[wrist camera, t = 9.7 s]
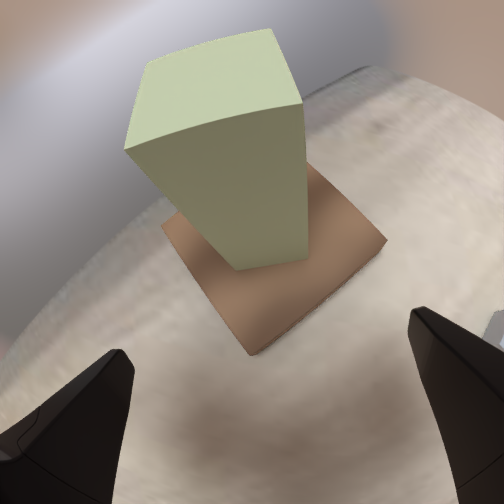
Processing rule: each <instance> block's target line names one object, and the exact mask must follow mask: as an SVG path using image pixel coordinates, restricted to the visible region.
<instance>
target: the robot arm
mask: <svg viewBox="0 0 504 504" xmlns="http://www.w3.org/2000/svg"><path fill="white" fill-rule="evenodd" d="M408 338H409V341H410V344H411V347H412V351H413V354H414V357H415V361H416V364H417V368H418V371H419V375H420V378H421V381H422V384H423V386H424V389H425V391H426V394H427V397H428V399H429V402H430V405H431V407H432V410H433V413H434V416H435V419H436V421H437V424H438V427H439V430H440V433H441V437H442V440H443V443H444V446H445V449H446V453H447V456H448V460H449V463H450V467H451V471H452V475H453V479H454V483H455V487H456V492H457V497H458V502H459V504H504V352H503V351H501V350H500V349H498V348H496V347H495V346H493V345H491V344H490V343H488V342H486V341H485V340H483V339H481V338H480V337H478V336H476V335H474V334H473V333H471V332H469V331H468V330H466V329H464V328H462V327H461V326H459V325H457V324H455V323H454V322H452V321H450V320H448V319H447V318H445V317H443V316H441V315H439V314H438V313H436V312H434V311H432V310H430V309H429V308H427V307H425V306H422V307H418V308H414V309H412V310H411V313H410V319H409V325H408ZM134 374H135V369H134V366H133V364H132V362H131V361H130V359H129V358H128V356H127V355H126V353H125V352H124V351H123V350H122V349H112V350H110V351H108V352H107V353H106V354H105V355H103V356H102V357H101V358H99V359H98V360H97V361H96V362H94V363H93V364H92V365H91V366H89V367H88V368H87V369H85V370H84V371H83V372H82V373H80V374H79V375H78V376H77V377H75V378H74V379H73V380H72V381H70V382H69V383H68V384H66V385H65V386H64V387H63V388H61V389H60V390H59V391H58V392H56V393H55V394H54V395H53V396H51V397H50V398H49V399H48V400H46V401H45V402H44V403H43V404H41V406H39V407H37V408H36V409H35V410H34V411H32V412H31V413H30V414H29V415H27V416H26V417H25V418H23V419H22V420H20V421H19V422H18V423H16V424H15V425H13V426H12V427H10V428H9V429H7V430H6V431H4V432H3V433H1V434H0V504H112V498H113V491H114V484H115V478H116V472H117V467H118V461H119V456H120V451H121V446H122V441H123V436H124V431H125V427H126V422H127V418H128V413H129V408H130V401H131V394H132V387H133V380H134Z"/></svg>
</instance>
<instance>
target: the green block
mask: <svg viewBox="0 0 504 504" xmlns="http://www.w3.org/2000/svg"><path fill="white" fill-rule="evenodd" d="M124 151H125V152H126V153H127V154H128V155H129V156H130V157H131V158H132V160H133V161H134V162H135V163H136V164H137V165H138V166H139V167H140V169H141V170H142V171H143V172H144V173H145V174H146V175H147V176H148V177H149V178H150V180H151V181H152V182H153V183H154V184H155V185H156V186H157V187H158V188H159V190H161V192H162V193H163V194H164V195H165V196H166V197H167V198H168V199H169V200H170V202H171V203H172V204H173V205H174V206H175V207H176V208H177V209H178V210H179V211H180V212H181V213H182V215H183V216H184V217H185V218H186V219H187V220H188V221H189V222H190V223H191V224H192V225H193V226H194V227H195V228H196V229H197V231H198V232H199V233H200V234H201V235H202V236H203V237H204V238H205V239H206V240H207V241H208V242H209V243H210V244H211V245H212V246H213V248H214V249H215V250H216V251H217V252H218V253H219V254H220V255H221V256H222V257H223V258H224V259H225V260H226V261H227V262H228V263H229V264H230V265H231V266H232V267H233V268H234V269H235V270H236V271H238V270H244V269H250V268H256V267H262V266H268V265H274V264H280V263H286V262H292V261H298V260H303V259H308V190H307V163H306V142H305V126H304V111H303V102H302V100H301V97H300V95H299V92H298V89H297V87H296V85H295V82H294V80H293V77H292V75H291V72H290V70H289V68H288V65H287V63H286V61H285V58H284V56H283V54H282V52H281V49H280V47H279V45H278V43H277V41H276V39H275V36H274V34H273V32H272V30H271V29H263V30H258V31H252V32H247V33H242V34H237V35H233V36H229V37H224V38H220V39H216V40H213V41H209V42H205V43H202V44H198V45H195V46H192V47H189V48H186V49H183V50H180V51H177V52H174V53H171V54H168V55H165V56H163V57H160V58H157V59H155V60H152V61H150V62H148V63H147V64H146V67H145V70H144V74H143V77H142V80H141V83H140V87H139V90H138V93H137V97H136V101H135V104H134V108H133V112H132V116H131V120H130V124H129V129H128V133H127V137H126V142H125V147H124Z"/></svg>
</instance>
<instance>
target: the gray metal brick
mask: <svg viewBox="0 0 504 504" xmlns="http://www.w3.org/2000/svg"><path fill="white" fill-rule="evenodd" d="M482 339H483V340H485V341H486V342H488V343H490V344H491V345H493V346H495V347H496V348H498V349H500V350H501V351H503V352H504V310H501V311H498V312H494V314H493V317H492V319H491V321H490V323H489V325H488V327H487V329H486V331H485V333H484V335H483V337H482Z"/></svg>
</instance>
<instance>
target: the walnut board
mask: <svg viewBox="0 0 504 504" xmlns="http://www.w3.org/2000/svg"><path fill="white" fill-rule="evenodd" d="M306 163H307V190H308V259H303V260H298V261H292V262H286V263H280V264H274V265H268V266H262V267H256V268H250V269H244V270H238V271H236V270H235V269H234V268H233V267H232V266H231V265H230V264H229V263H228V262H227V261H226V260H225V259H224V258H223V257H222V256H221V255H220V254H219V253H218V252H217V251H216V250H215V249H214V248H213V246H212V245H211V244H210V243H209V242H208V241H207V240H206V239H205V238H204V237H203V236H202V235H201V234H200V233H199V232H198V231H197V229H196V228H195V227H194V226H193V225H192V224H191V223H190V222H189V221H188V220H187V219H186V218H185V217H184V216H183V215H182V213H181V212H180V211H178V212H177V213H176V214H174V215H173V216H172V217H171V218H170V219H168V220H167V221H166V222H165V223H163V224H162V225H161V227H162V229H163V231H164V232H165V234H166V235H167V237H168V239H169V240H170V242H171V243H172V245H173V246H174V248H175V250H176V251H177V253H178V254H179V256H180V257H181V259H182V260H183V262H184V263H185V265H186V266H187V268H188V269H189V271H190V272H191V274H192V275H193V277H194V278H195V280H196V281H197V283H198V284H199V286H200V287H201V289H202V290H203V292H204V293H205V295H206V296H207V297H208V299H209V300H210V302H211V303H212V305H213V306H214V307H215V309H216V310H217V312H218V313H219V315H220V316H221V317H222V319H223V320H224V322H225V323H226V324H227V326H228V327H229V329H230V330H231V331H232V333H233V334H234V335H235V337H236V338H237V339H238V341H239V342H240V343H241V345H242V346H243V348H244V349H245V350H246V352H247V353H248V354H249V355H250V356H252V355H256V354H257V353H259V352H260V351H261V350H263V349H264V348H265V347H267V346H268V345H269V344H271V343H272V342H273V341H275V340H276V339H277V338H279V337H280V336H281V335H282V334H284V333H285V332H286V331H288V330H289V329H290V328H291V327H293V326H294V325H295V324H296V323H298V322H299V321H300V320H301V319H303V318H304V317H305V316H306V315H308V314H309V313H310V312H311V311H312V310H314V309H315V308H316V307H317V306H319V305H320V304H321V303H322V302H323V301H324V300H326V299H327V298H328V297H329V296H330V295H332V294H333V293H334V292H335V291H336V290H337V289H338V288H340V287H341V286H342V285H343V284H344V283H345V282H346V281H348V280H349V279H350V278H351V277H352V276H353V275H354V274H355V273H357V272H358V271H359V270H360V269H361V268H362V267H363V266H364V265H365V264H366V263H367V262H369V261H370V260H371V259H372V258H373V257H374V256H375V255H376V254H377V253H378V252H379V251H380V250H381V249H382V247H383V246H384V245H385V243H386V242H387V239H386V238H385V237H384V236H383V235H382V234H381V233H380V231H379V230H378V229H377V228H376V227H375V226H374V225H373V224H372V223H371V222H370V221H369V220H368V219H367V218H366V217H365V216H364V215H363V214H362V213H361V212H360V211H359V210H358V209H357V208H356V207H355V206H354V205H353V204H352V203H351V202H350V201H349V200H348V199H347V198H346V197H345V196H344V195H343V194H342V193H341V192H340V191H338V190H337V189H336V188H335V187H334V186H333V185H332V184H331V183H330V182H329V181H328V180H327V179H326V178H324V177H323V176H322V175H321V174H320V173H319V172H318V171H317V170H316V169H314V168H313V167H312V166H311V165H310V164H309V163H308V162H306Z"/></svg>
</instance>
